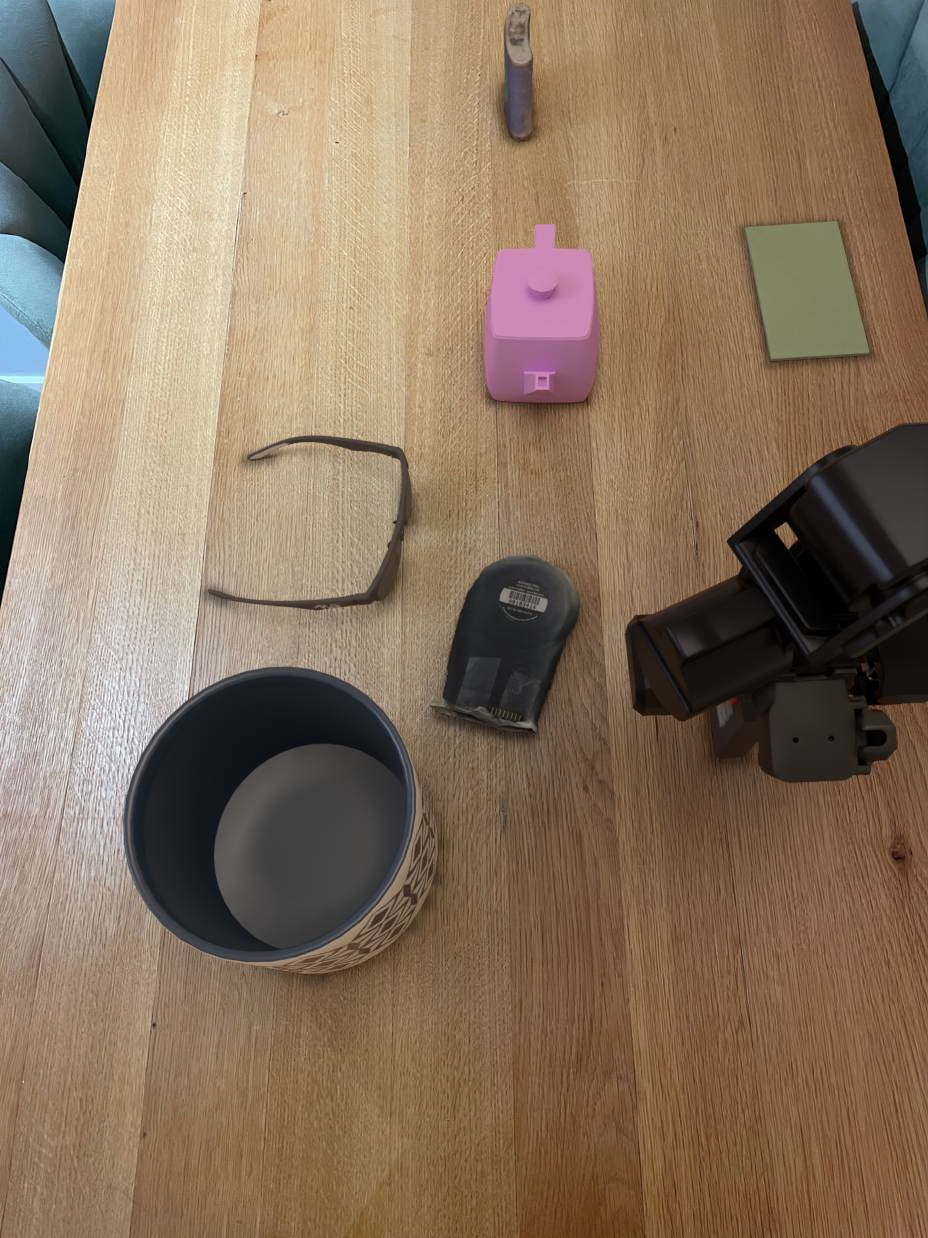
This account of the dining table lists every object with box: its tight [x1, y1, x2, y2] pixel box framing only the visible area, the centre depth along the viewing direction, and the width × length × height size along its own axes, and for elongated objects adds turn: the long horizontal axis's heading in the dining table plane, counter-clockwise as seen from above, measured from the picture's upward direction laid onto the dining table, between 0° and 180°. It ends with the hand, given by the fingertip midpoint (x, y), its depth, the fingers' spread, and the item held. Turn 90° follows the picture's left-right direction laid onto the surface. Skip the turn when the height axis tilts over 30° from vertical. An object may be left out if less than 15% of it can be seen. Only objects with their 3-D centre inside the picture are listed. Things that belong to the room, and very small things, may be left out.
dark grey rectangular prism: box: [708, 694, 758, 759], centre depth 70 cm, size 2×4×10 cm, turn 2°
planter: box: [122, 665, 439, 975], centre depth 65 cm, size 18×18×16 cm
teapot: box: [483, 223, 600, 404], centre depth 84 cm, size 18×10×10 cm, turn 177°
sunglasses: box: [207, 434, 413, 611], centre depth 81 cm, size 16×17×5 cm
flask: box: [503, 2, 534, 142], centre depth 97 cm, size 9×3×11 cm, turn 1°
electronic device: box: [428, 554, 581, 737], centre depth 76 cm, size 9×6×15 cm
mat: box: [744, 220, 870, 362], centre depth 90 cm, size 16×9×1 cm, turn 2°
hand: (749, 698), depth 67 cm, fingers open, 9 cm apart
